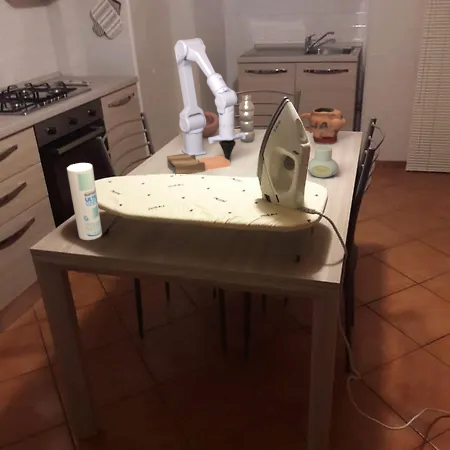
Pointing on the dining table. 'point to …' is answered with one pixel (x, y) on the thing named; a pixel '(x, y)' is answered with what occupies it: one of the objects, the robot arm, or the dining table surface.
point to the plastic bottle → (247, 118)
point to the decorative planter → (324, 124)
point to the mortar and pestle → (210, 124)
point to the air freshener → (323, 163)
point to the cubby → (184, 164)
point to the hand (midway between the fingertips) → (227, 159)
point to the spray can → (85, 200)
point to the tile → (214, 162)
